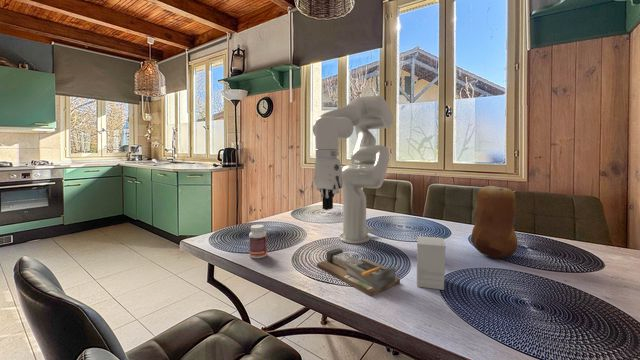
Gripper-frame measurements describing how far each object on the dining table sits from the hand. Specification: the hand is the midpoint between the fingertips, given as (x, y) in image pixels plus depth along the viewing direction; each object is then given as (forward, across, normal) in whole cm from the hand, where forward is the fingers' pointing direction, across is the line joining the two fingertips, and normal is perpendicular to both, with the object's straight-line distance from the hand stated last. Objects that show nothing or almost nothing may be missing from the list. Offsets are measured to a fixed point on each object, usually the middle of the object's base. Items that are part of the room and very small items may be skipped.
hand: (327, 208), depth 101 cm
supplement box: (+18, -31, -12) cm, 38 cm away
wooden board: (+18, -14, +1) cm, 23 cm away
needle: (+16, -23, +3) cm, 28 cm away
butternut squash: (+19, -33, -47) cm, 61 cm away
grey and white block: (+17, -10, +1) cm, 19 cm away
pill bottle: (+18, +19, +18) cm, 31 cm away
